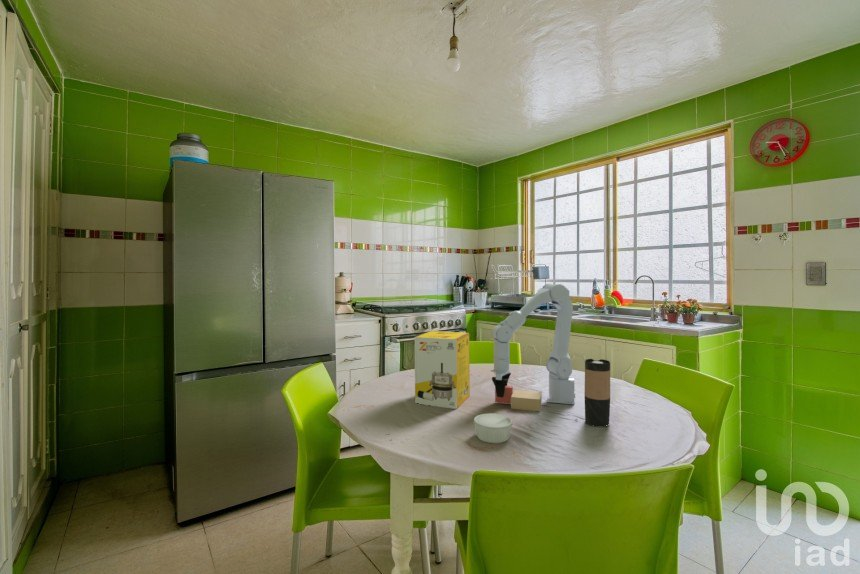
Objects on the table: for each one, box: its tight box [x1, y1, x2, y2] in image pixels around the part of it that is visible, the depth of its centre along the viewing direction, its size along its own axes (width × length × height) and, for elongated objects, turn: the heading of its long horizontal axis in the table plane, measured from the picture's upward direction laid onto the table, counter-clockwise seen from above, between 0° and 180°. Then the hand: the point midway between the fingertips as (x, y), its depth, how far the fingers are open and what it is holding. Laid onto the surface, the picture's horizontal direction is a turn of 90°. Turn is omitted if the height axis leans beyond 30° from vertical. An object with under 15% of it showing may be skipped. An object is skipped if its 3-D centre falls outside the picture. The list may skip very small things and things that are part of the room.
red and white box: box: [494, 385, 514, 405], centre depth 147 cm, size 15×8×6 cm, turn 72°
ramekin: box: [473, 412, 513, 444], centre depth 119 cm, size 11×11×5 cm
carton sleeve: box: [510, 389, 543, 412], centre depth 146 cm, size 10×9×4 cm
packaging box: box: [414, 330, 471, 410], centre depth 154 cm, size 16×16×25 cm
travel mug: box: [584, 358, 611, 427], centre depth 129 cm, size 8×8×20 cm
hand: (501, 394), depth 149 cm, fingers open, 6 cm apart
